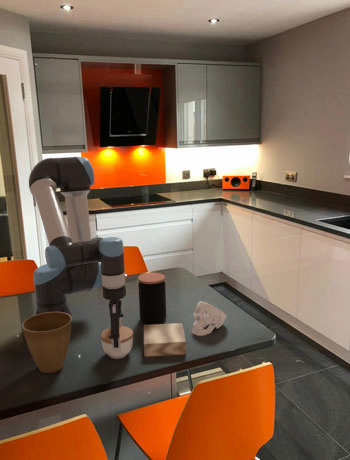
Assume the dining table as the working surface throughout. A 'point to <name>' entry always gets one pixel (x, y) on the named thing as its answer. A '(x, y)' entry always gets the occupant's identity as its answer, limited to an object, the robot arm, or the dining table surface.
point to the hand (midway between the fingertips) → (117, 345)
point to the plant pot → (48, 339)
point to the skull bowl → (207, 318)
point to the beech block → (164, 339)
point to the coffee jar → (152, 298)
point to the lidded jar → (125, 339)
